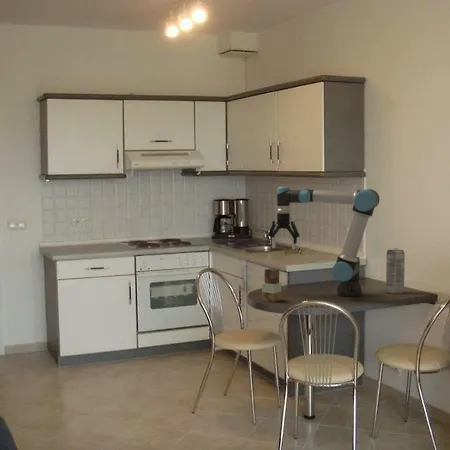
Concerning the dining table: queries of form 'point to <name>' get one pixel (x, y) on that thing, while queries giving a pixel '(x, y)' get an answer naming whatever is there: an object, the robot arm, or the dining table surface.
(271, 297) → the tower base
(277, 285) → the tower top
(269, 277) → the block
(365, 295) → the dining table surface
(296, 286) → the dining table surface
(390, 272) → the juice carton
